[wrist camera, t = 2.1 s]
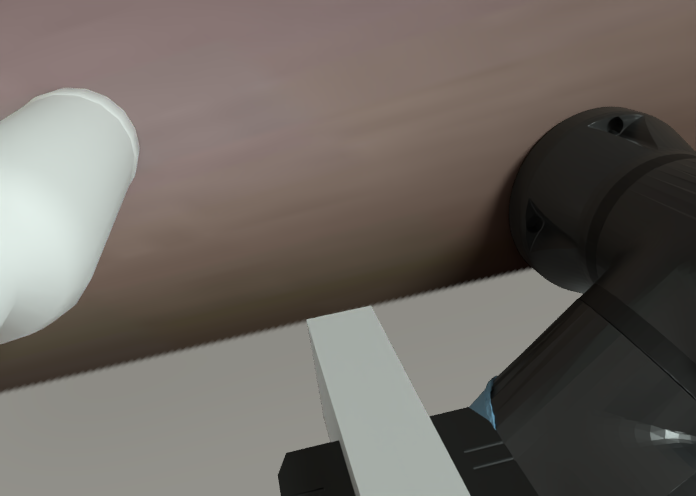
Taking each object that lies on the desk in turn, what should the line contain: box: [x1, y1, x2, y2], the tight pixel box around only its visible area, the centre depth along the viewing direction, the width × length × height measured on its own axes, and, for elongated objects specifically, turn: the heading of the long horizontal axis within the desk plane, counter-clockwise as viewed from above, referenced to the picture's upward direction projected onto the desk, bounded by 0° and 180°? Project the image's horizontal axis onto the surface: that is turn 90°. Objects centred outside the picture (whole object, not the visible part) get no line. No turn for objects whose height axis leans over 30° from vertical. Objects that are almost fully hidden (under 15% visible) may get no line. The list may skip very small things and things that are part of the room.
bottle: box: [0, 88, 140, 344], centre depth 30 cm, size 8×8×30 cm
